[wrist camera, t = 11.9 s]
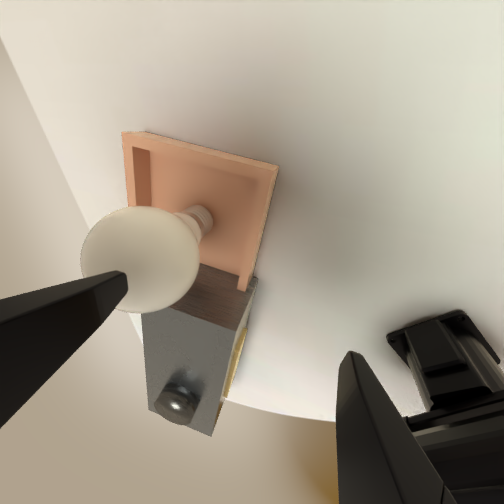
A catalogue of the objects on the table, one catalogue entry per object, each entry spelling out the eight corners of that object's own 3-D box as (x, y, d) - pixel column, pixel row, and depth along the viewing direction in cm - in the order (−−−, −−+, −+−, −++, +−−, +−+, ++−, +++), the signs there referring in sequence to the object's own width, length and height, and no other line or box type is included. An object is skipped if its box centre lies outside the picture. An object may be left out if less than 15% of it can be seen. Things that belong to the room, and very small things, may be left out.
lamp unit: (185, 255, 24) (124, 311, 16) (262, 279, 23) (234, 351, 15) (179, 358, 33) (139, 424, 25) (234, 380, 32) (208, 455, 24)
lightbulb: (171, 239, 22) (65, 317, 13) (169, 173, 19) (28, 214, 10) (231, 255, 22) (165, 352, 12) (240, 190, 18) (159, 252, 9)
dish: (279, 166, 17) (273, 171, 15) (250, 283, 23) (243, 298, 21) (144, 131, 19) (121, 131, 17) (149, 250, 25) (133, 261, 23)
